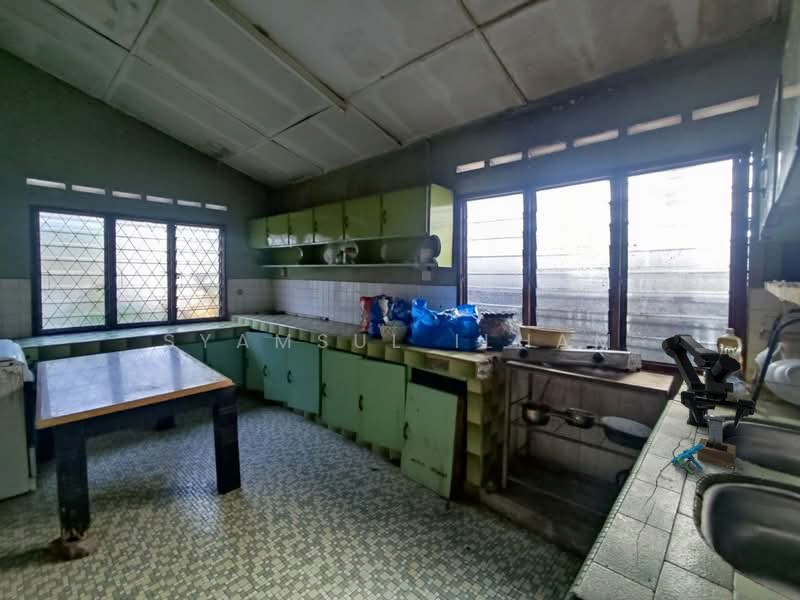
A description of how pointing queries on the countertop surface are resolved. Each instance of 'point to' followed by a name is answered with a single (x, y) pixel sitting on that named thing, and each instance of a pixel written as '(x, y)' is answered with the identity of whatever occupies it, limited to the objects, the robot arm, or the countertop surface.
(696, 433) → the countertop surface
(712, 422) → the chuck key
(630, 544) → the countertop surface
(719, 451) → the key holder
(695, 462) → the blue lumpy figure
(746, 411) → the robot arm
